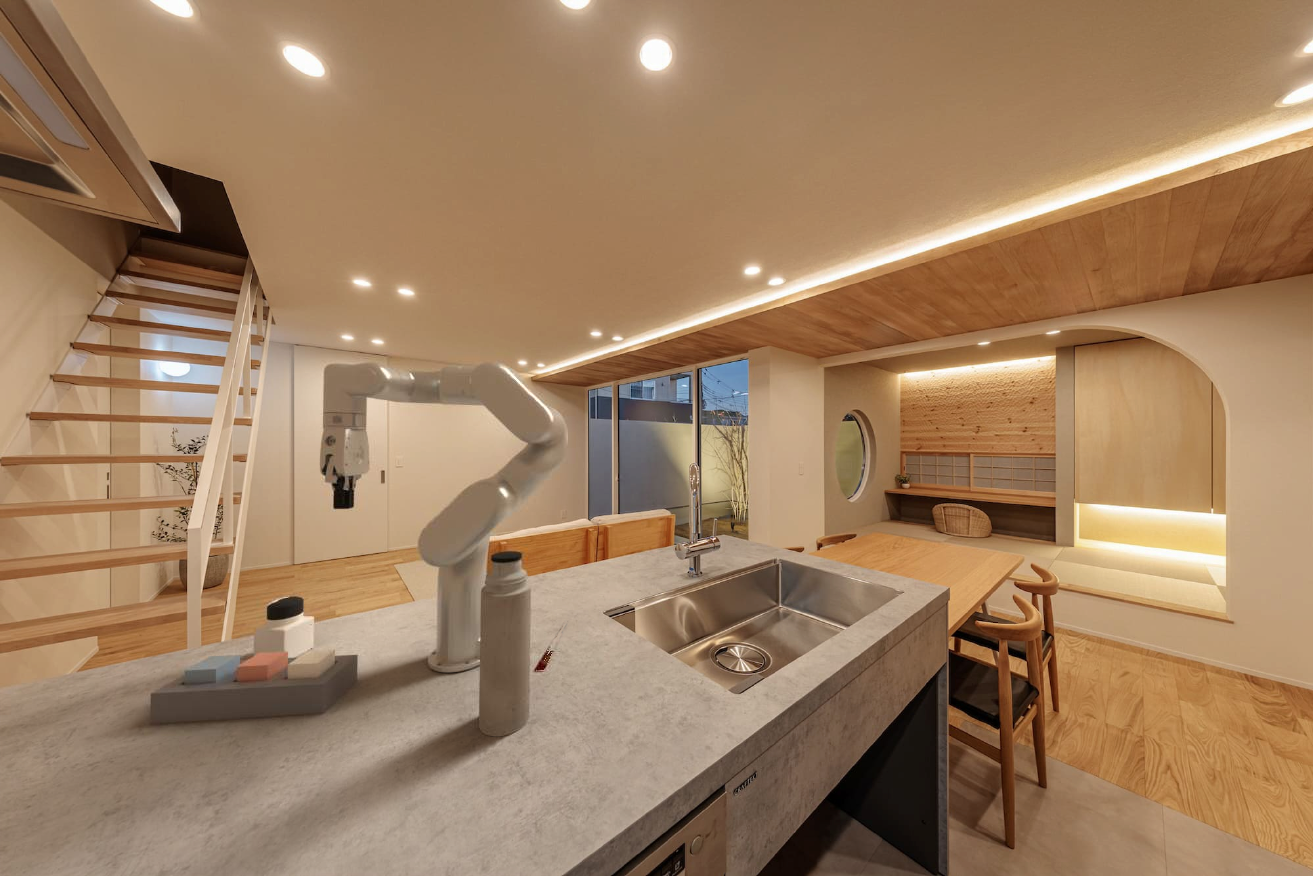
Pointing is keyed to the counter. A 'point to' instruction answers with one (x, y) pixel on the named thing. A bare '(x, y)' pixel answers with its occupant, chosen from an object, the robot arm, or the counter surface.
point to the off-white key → (311, 664)
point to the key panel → (253, 695)
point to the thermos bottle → (504, 646)
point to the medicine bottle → (285, 628)
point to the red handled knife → (542, 663)
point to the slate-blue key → (211, 669)
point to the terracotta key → (262, 666)
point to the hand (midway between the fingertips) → (343, 508)
